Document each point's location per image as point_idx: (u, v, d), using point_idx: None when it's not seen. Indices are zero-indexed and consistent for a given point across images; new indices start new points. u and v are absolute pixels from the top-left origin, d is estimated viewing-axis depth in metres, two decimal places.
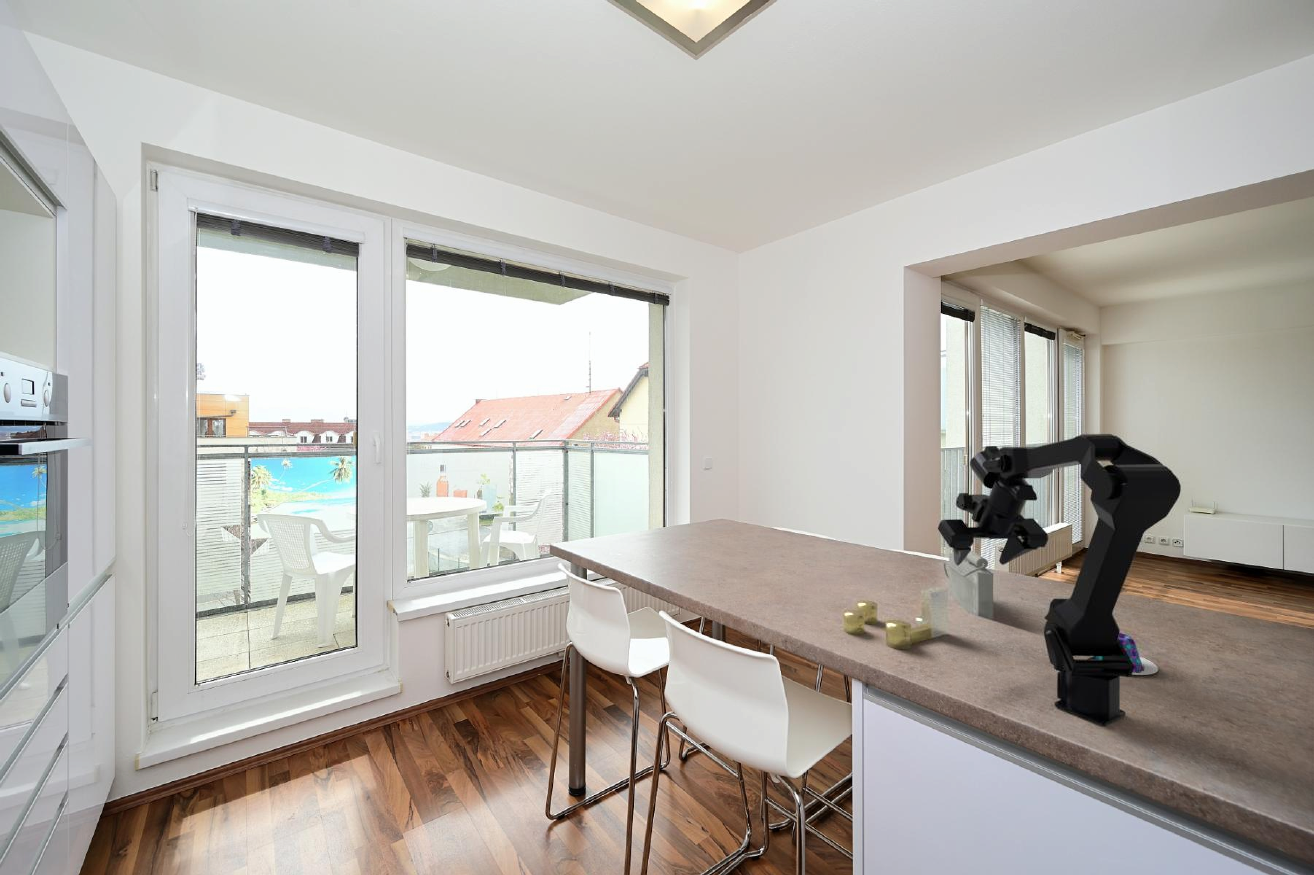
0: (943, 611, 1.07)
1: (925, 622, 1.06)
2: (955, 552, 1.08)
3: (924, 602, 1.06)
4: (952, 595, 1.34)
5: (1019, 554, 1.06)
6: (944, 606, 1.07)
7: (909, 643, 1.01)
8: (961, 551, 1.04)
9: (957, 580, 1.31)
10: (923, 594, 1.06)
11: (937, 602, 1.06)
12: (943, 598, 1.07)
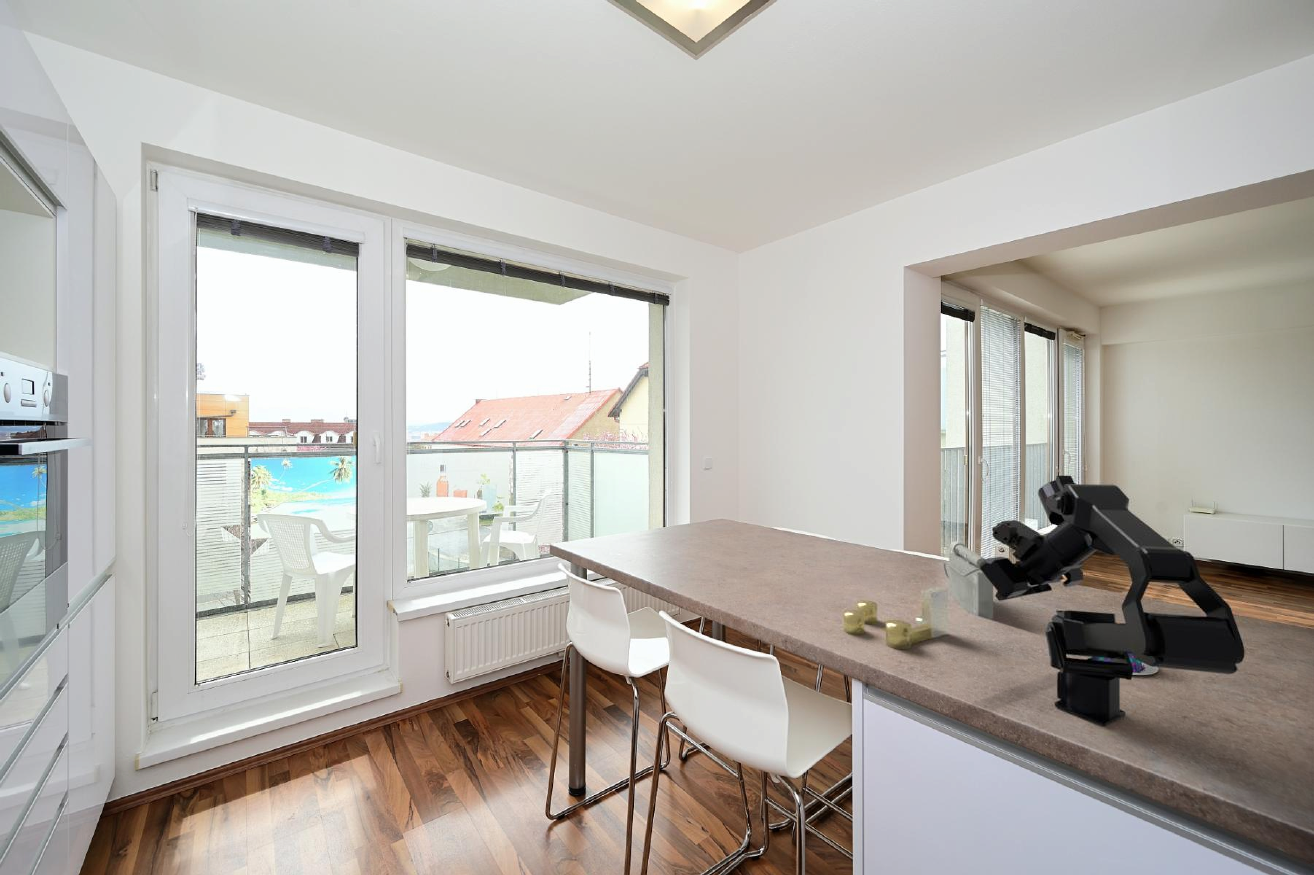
0: (943, 611, 1.07)
1: (925, 622, 1.06)
2: None
3: (924, 602, 1.06)
4: (952, 595, 1.34)
5: (1030, 594, 0.91)
6: (944, 606, 1.07)
7: (909, 643, 1.01)
8: (1026, 595, 0.88)
9: (957, 580, 1.31)
10: (923, 594, 1.06)
11: (937, 602, 1.06)
12: (943, 598, 1.07)
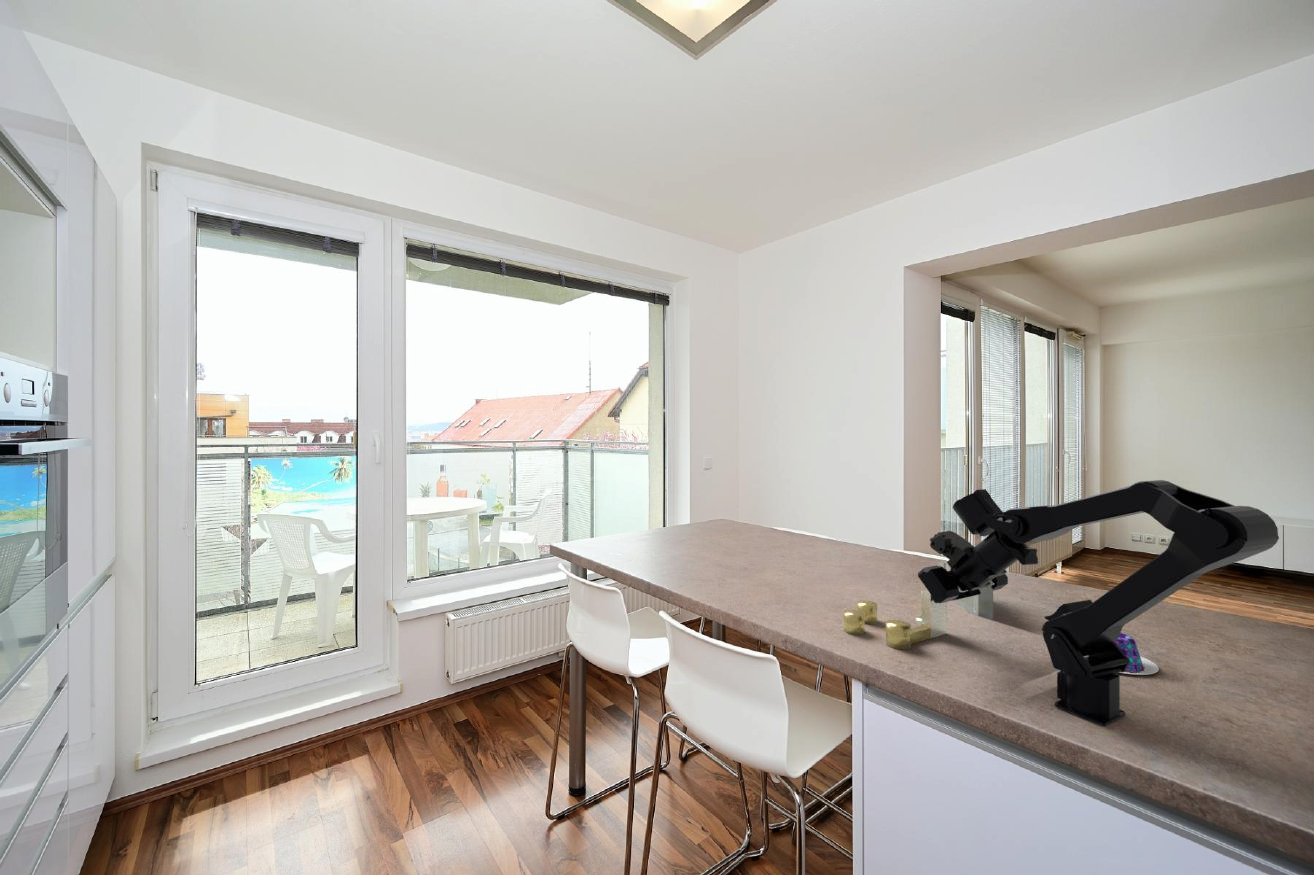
0: (943, 611, 1.07)
1: (925, 622, 1.06)
2: None
3: (924, 602, 1.06)
4: None
5: None
6: (944, 606, 1.07)
7: (909, 643, 1.01)
8: (958, 599, 0.98)
9: None
10: (923, 594, 1.06)
11: None
12: None
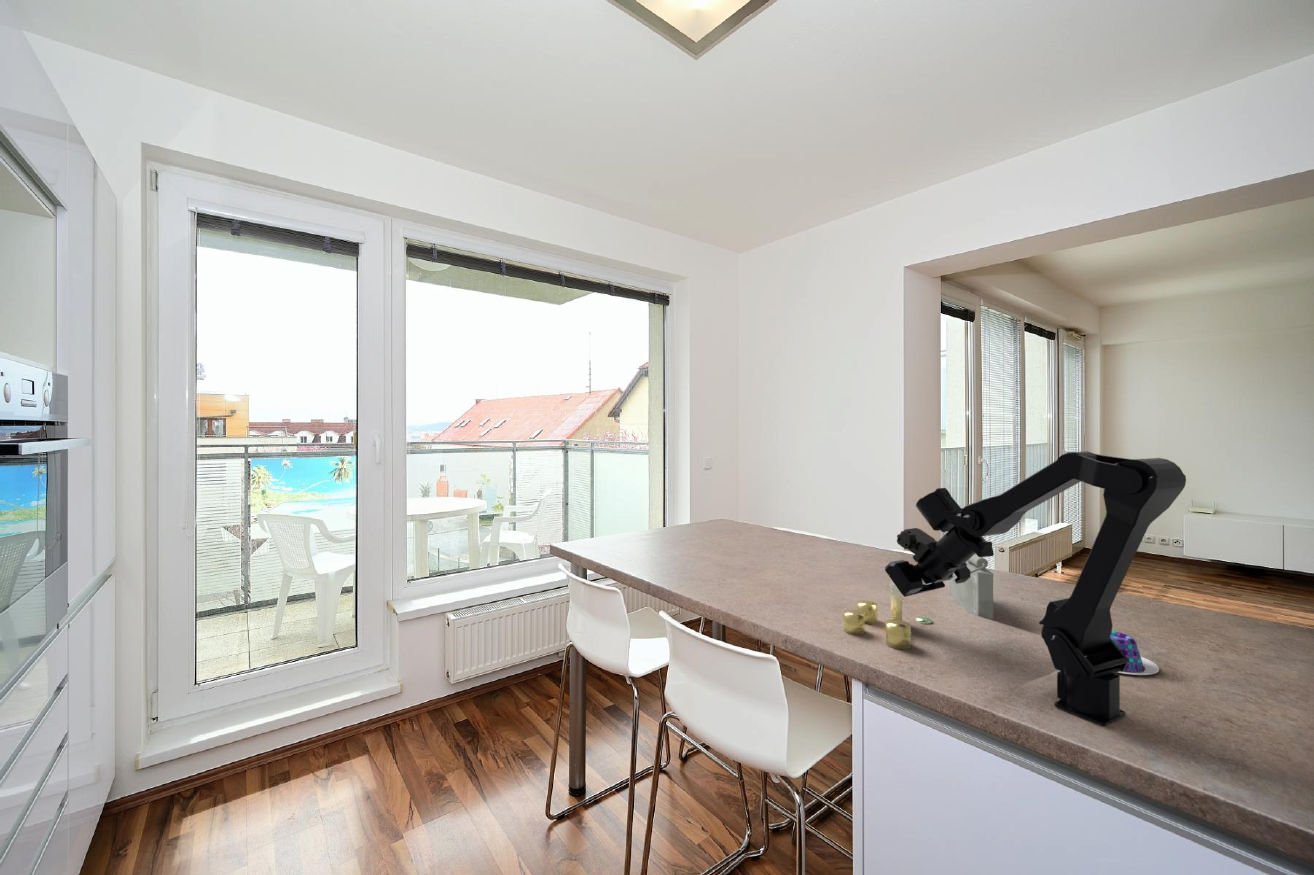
0: None
1: (895, 616, 1.10)
2: None
3: (894, 597, 1.10)
4: (952, 595, 1.34)
5: None
6: None
7: None
8: None
9: None
10: (893, 589, 1.10)
11: None
12: None
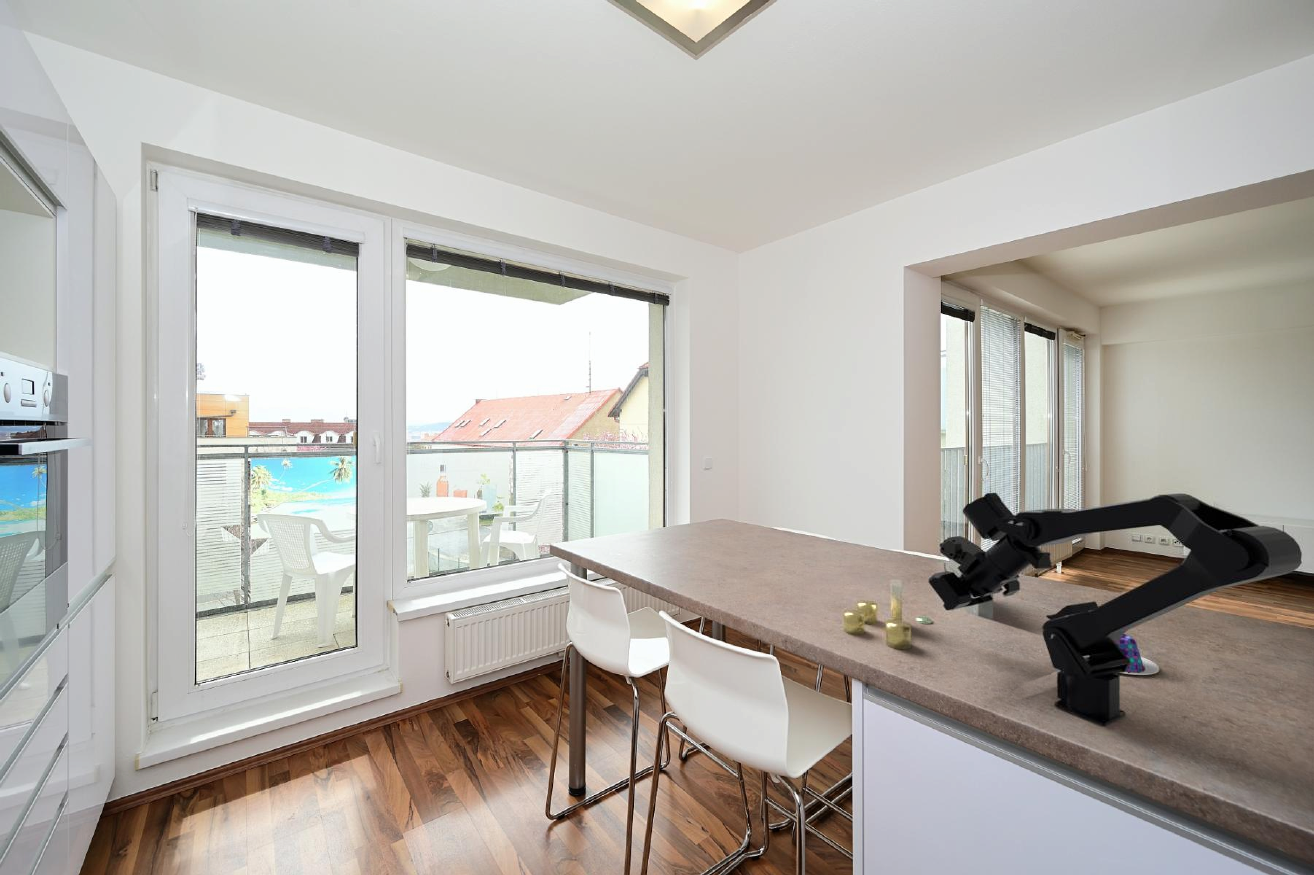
0: None
1: (895, 616, 1.10)
2: None
3: (894, 597, 1.10)
4: None
5: None
6: None
7: None
8: None
9: None
10: (893, 589, 1.10)
11: None
12: None
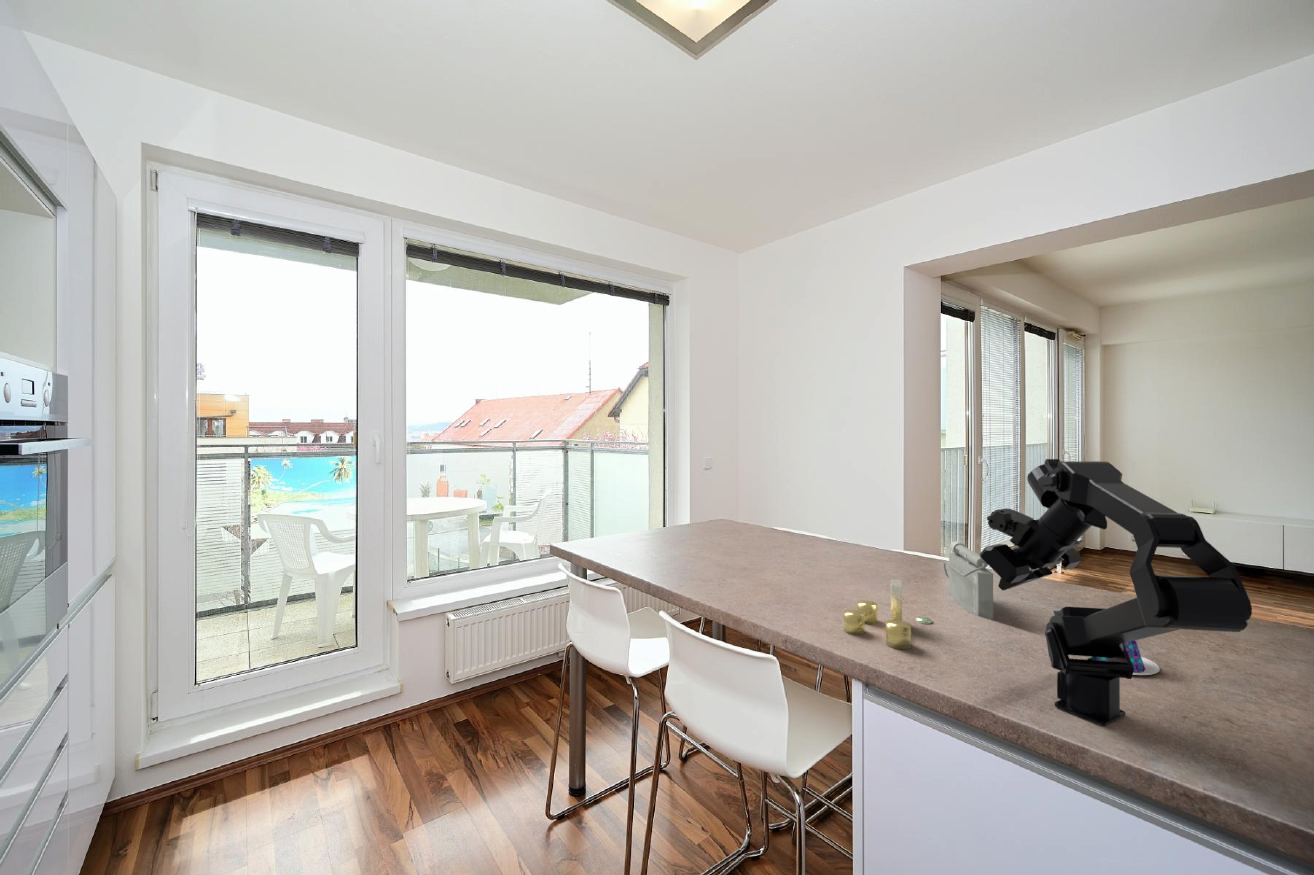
0: None
1: (895, 616, 1.10)
2: None
3: (894, 597, 1.10)
4: (952, 595, 1.34)
5: (1032, 580, 0.92)
6: None
7: None
8: (1028, 580, 0.89)
9: (957, 580, 1.31)
10: (893, 589, 1.10)
11: None
12: None
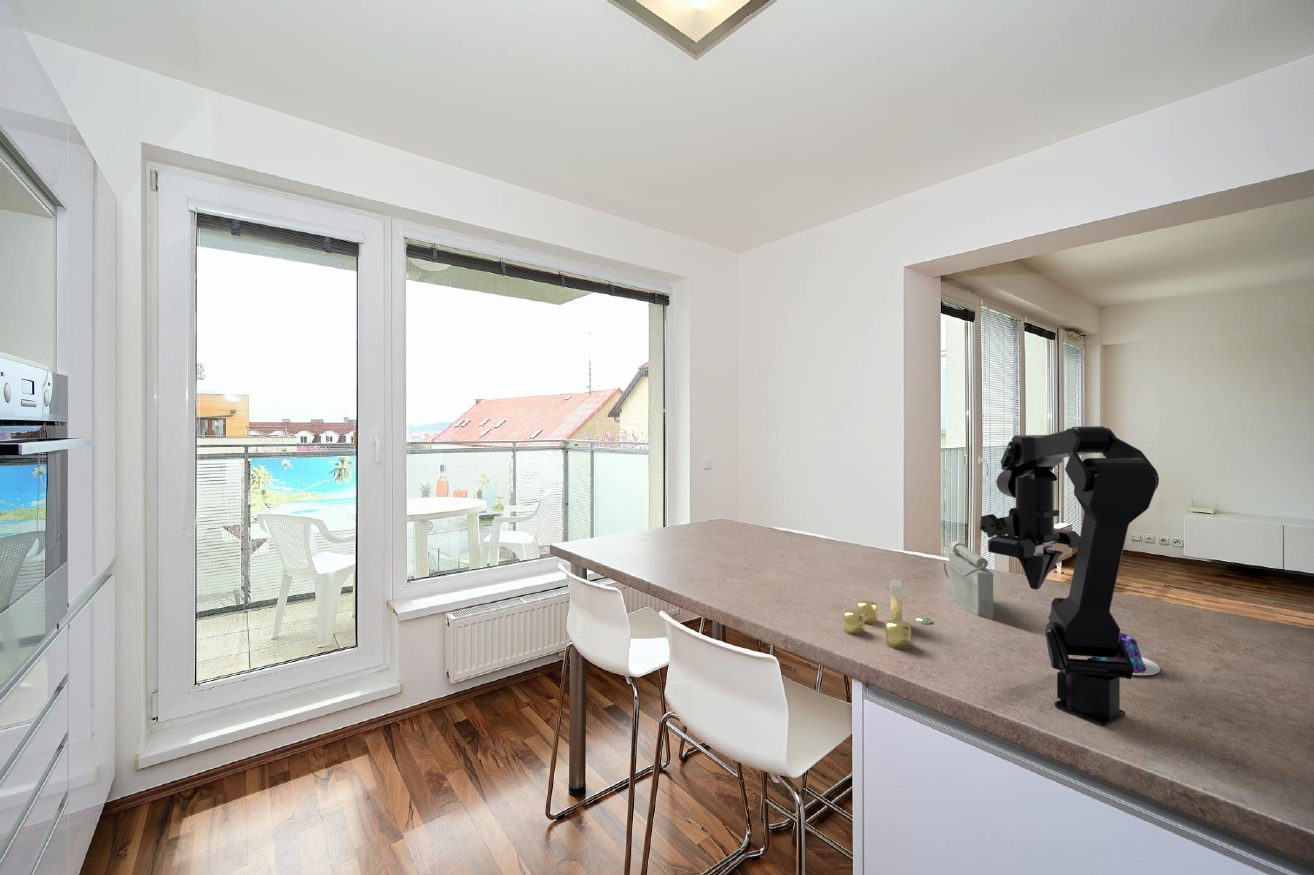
0: None
1: (895, 616, 1.10)
2: (1030, 572, 0.98)
3: (894, 597, 1.10)
4: (952, 595, 1.34)
5: (1051, 565, 0.97)
6: None
7: None
8: (1043, 559, 0.94)
9: (957, 580, 1.31)
10: (893, 589, 1.10)
11: None
12: None
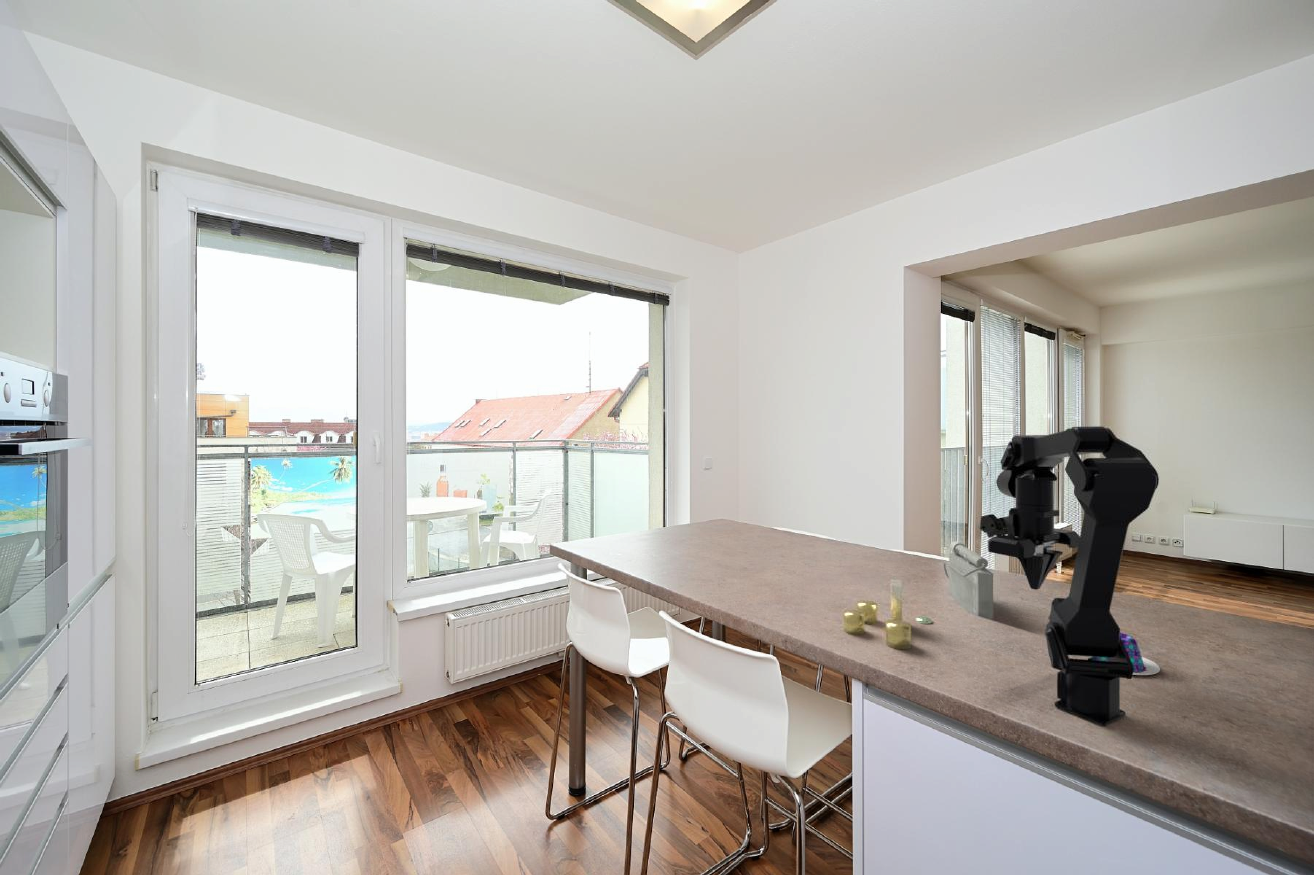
0: None
1: (895, 616, 1.10)
2: (1030, 572, 0.98)
3: (894, 597, 1.10)
4: (952, 595, 1.34)
5: (1051, 565, 0.97)
6: None
7: None
8: (1043, 559, 0.94)
9: (957, 580, 1.31)
10: (893, 589, 1.10)
11: None
12: None
